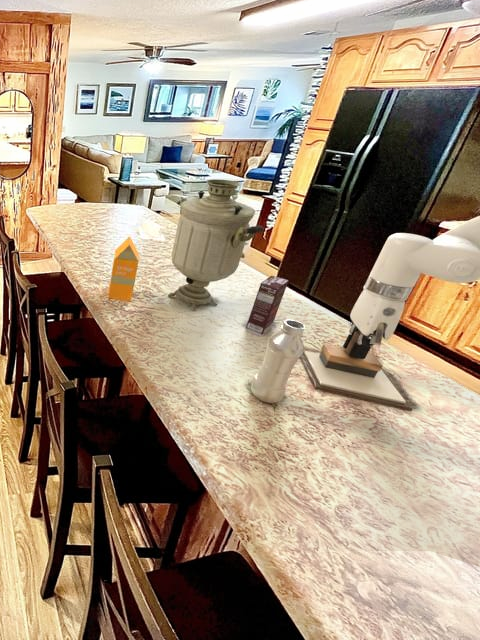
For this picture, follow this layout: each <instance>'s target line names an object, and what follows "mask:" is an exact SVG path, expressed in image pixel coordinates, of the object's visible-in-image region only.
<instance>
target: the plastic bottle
mask: <svg viewBox="0 0 480 640" xmlns="http://www.w3.org/2000/svg"><path fill="white" fill-rule="evenodd" d="M305 328H306V326H305V324H303V323H302V322H301V321H298V320H295V319H285V320H284V321H283V324H282V325H281V327H280V331H277V332H275V333H273V334H272V335H271V336H270V337H269V339H268V341H267V346H266V352H265V355H264V359H263V361H262V364H261V366H260V368H259V369H258V371H257V373H256V374H255V376H254V377H253V379H252V381H251V384H250V390H251V392H252V395H253V396H254V397H255V398H256V399H258V400H259V401H262V402H263V403H267V404H276V403H278V402H280V401H282V400H283V398H284V396H285V394H286V390H287V384H288V381H289V379H290V375H291V372H292V370H293V369H294V367H295V365H296V364H297V363H298V361H299V359H301V358H300V356H301V355H302V353H303V352H304V351H305V345H304V342H303V339H302V338H301V337H303V335H304V331H305Z"/></svg>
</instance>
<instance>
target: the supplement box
mask: <svg viewBox="0 0 480 640" xmlns="http://www.w3.org/2000/svg"><path fill="white" fill-rule="evenodd" d="M288 285H289V280H288V279H285V278H282V277H279V276H275V275H270V276H268V277H267V278H266V279H264V280H263V281H262V282H260V285H259V288H258V290H257V293H256V297H255V299H254V302H253V305H252V308H251V311H250V314H249V316H248V319H247V321H246V322H247V323H246V326H245V329H244V331H246V332H249V333H251V334H253V335H256V336H258V337H263V336H265V334H266V333H267V332H268V331H269V330H270V329H271V328H272V327H273V325H274V322H275V320H276V316H277V314H278V311H279V308H280V305H281V302H282V300H283V297H284V295H285V292H286V290H287V287H288Z"/></svg>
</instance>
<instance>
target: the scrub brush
mask: <svg viewBox="0 0 480 640" xmlns="http://www.w3.org/2000/svg"><path fill="white" fill-rule="evenodd" d="M360 334H361V331H355V333H354V335H353V337H352V339H351V341H350V343H349V345H348V347H347V349H345V348H344V347H343V346H339V345H334V344H329V343H323V344H322V346H321V350H320V353H319V354H320V355H319V357H320V359H321V361H322V363H323V364H324V366H325V368H330V369H335V370H339V371H344V372H349V373H353V374H358V375H363V376H367V377H372V378H375V376H376V374H377V372H378V371H380V370H381V368H382V369H383V367H384V365H383V364H382V362H381V360H380V359H378V357H377V356H376V354H375V353H374V352H370V351H369V352H368V354H367V356H366V358H365V359H360V358H355V357H350V356H349V355H348V353H349V352H350V350H351V348H352V346H353V344H354V342H357V340H358V338H359V336H360ZM366 338H370V337H368V336H365V338H364V339H366Z"/></svg>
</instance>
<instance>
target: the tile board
mask: <svg viewBox="0 0 480 640" xmlns="http://www.w3.org/2000/svg"><path fill="white" fill-rule="evenodd" d="M319 355H320V353H318V352H313V351H307V350H304V352H303V353H302V355H301V356H300V358H299V359H300V361H301V362H302V365H303V366H304V369H305V370H306V373H307V375H308V377H309V379H310V380H311V383H312V385H313V387H314V389H315V390H317V391H322V392H327V393H331V394H336V395H338V396H339V395H340V396H344V397H347V398H348V397H349V398H353V399H357V400H361V401H366V402H370V403H373V404H379V405H383V406H388V407H392V408H397V409H399V410H400V409H401V410H406V411H410V412H412V411H413V409H414V408H413V406H411V403H409V401H408V400H407V398H406V397H405V396H404V395H403V393H402V392H401V391H400V389H399V387H397V386H396V384H395V383H394V382H393V380H392V379H391V377H390V376H389V375H388V374H387V372H386V371H385V370H384V368H383V367H382V368H381V370H380V371H378V372H377V374H376V376H375V378H372V377H367V376H363V375H358V374H353V373H349V372H344V371H339V370H335V369H330V368H325V366H324V364H323V363H322V361H321V359H320V357H319Z"/></svg>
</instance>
